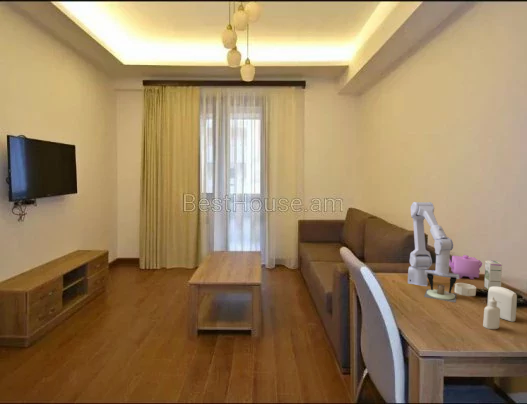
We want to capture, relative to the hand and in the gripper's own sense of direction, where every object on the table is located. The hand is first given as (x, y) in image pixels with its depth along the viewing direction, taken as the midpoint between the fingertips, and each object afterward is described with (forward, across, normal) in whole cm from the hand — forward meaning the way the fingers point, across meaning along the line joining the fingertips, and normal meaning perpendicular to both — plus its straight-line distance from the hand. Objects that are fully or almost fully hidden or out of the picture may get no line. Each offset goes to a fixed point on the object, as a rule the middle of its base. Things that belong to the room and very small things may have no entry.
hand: (440, 291), depth 162 cm
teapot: (+3, +8, +44) cm, 45 cm away
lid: (+2, 0, 0) cm, 2 cm away
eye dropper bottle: (+3, +19, -27) cm, 33 cm away
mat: (+3, 0, 0) cm, 3 cm away
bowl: (+3, +10, +11) cm, 15 cm away
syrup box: (+3, +22, +27) cm, 35 cm away
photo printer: (+3, +23, -13) cm, 27 cm away
